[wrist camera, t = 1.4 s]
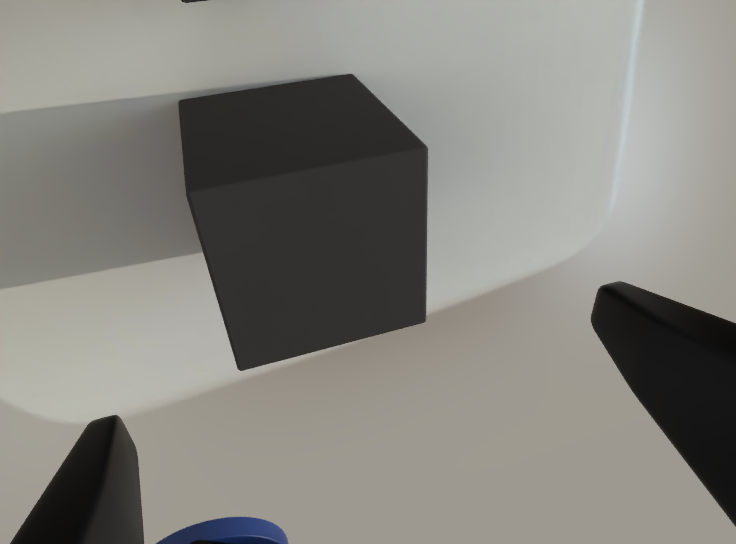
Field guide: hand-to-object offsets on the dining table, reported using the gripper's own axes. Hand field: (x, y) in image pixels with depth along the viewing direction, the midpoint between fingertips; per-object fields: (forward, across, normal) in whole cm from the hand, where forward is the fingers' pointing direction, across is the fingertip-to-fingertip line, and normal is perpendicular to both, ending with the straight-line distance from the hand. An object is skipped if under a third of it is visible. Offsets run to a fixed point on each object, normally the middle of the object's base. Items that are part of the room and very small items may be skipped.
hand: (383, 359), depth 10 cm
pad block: (+8, 0, 0) cm, 8 cm away
